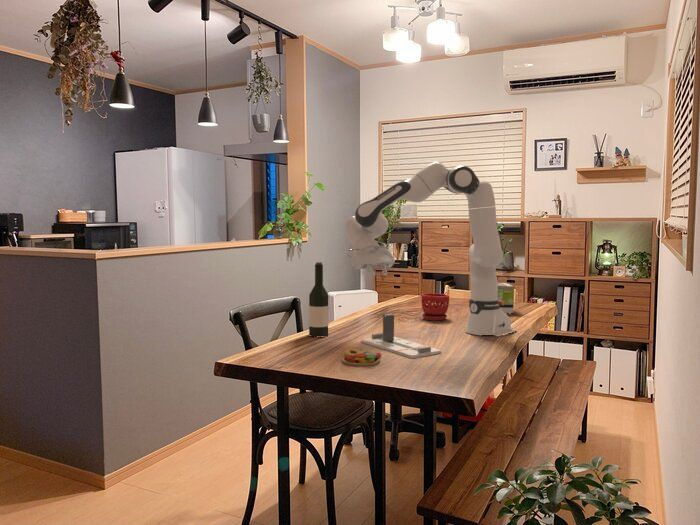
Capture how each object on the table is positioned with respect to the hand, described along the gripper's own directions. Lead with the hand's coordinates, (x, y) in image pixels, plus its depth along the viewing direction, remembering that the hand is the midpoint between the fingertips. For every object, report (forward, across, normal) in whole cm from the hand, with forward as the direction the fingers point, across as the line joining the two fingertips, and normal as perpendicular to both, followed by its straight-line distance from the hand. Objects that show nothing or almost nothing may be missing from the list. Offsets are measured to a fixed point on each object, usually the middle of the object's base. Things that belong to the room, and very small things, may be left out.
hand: (380, 274), depth 226 cm
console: (+32, -5, +4) cm, 32 cm away
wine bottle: (+8, -20, +28) cm, 36 cm away
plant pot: (+6, +47, +30) cm, 56 cm away
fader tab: (+26, -5, +8) cm, 28 cm away
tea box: (+8, +90, +28) cm, 95 cm away
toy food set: (+38, -29, -2) cm, 48 cm away
